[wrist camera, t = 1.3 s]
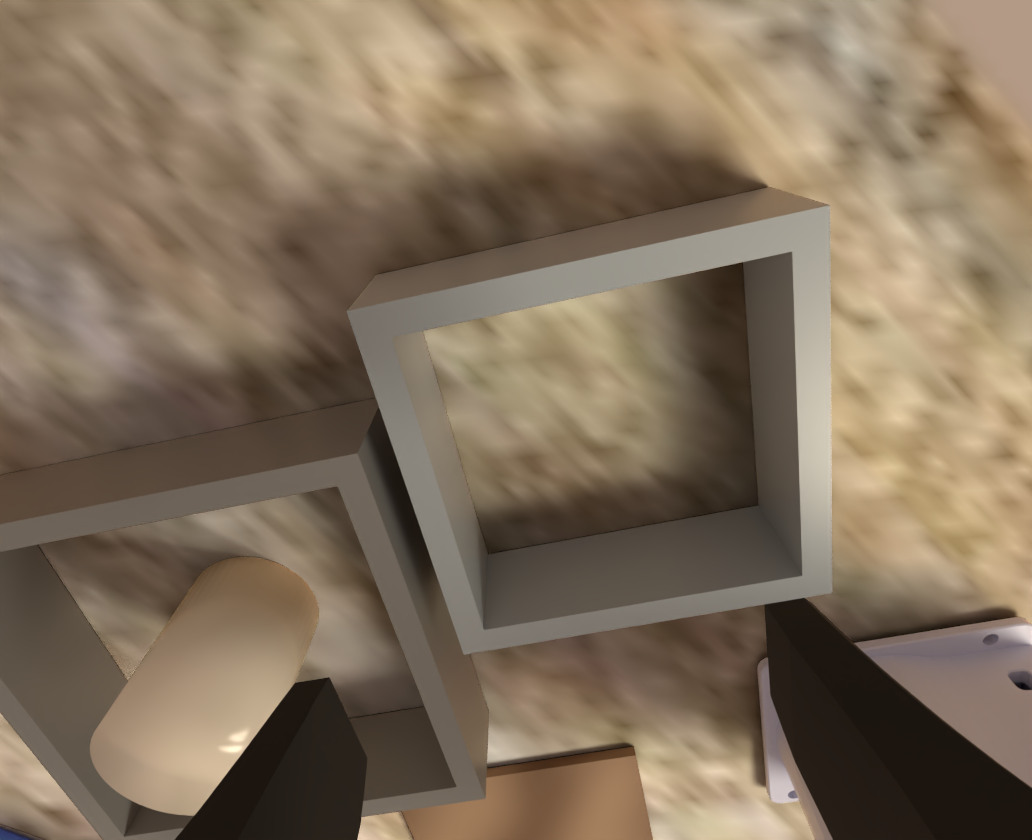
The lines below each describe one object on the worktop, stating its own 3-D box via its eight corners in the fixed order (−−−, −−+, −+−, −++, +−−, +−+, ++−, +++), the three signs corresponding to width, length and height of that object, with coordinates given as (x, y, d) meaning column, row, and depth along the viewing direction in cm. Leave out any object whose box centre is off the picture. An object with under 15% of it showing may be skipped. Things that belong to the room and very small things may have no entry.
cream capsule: (292, 546, 22) (218, 692, 16) (336, 643, 23) (283, 803, 18) (170, 569, 22) (57, 720, 17) (222, 662, 24) (137, 825, 18)
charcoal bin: (382, 396, 19) (357, 453, 16) (488, 711, 25) (485, 798, 22) (-32, 481, 20) (-131, 549, 17) (161, 763, 26) (113, 853, 23)
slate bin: (769, 186, 17) (830, 205, 14) (784, 520, 21) (832, 593, 18) (376, 274, 18) (346, 311, 14) (470, 576, 22) (463, 655, 19)
